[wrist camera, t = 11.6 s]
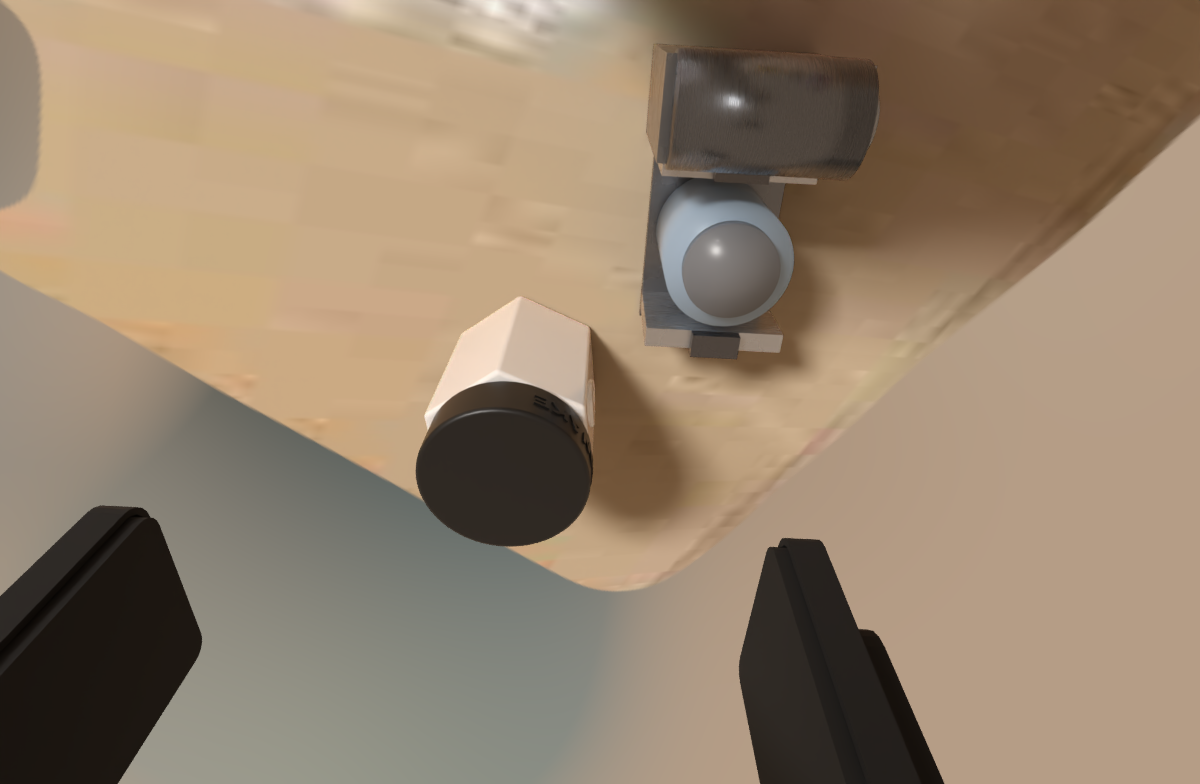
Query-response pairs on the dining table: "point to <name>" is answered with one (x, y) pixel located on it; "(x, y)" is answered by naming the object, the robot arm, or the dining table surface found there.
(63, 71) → the dining table surface
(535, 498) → the jar
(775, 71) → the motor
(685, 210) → the grey plastic cylinder
